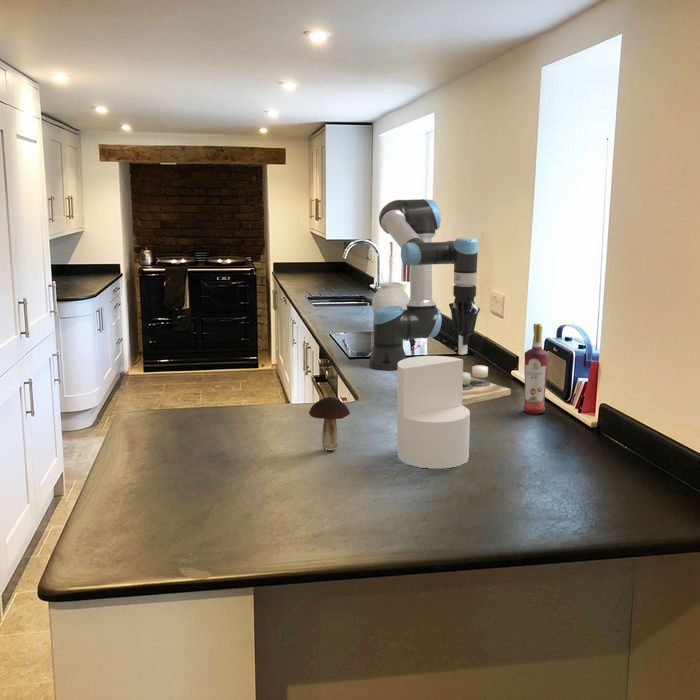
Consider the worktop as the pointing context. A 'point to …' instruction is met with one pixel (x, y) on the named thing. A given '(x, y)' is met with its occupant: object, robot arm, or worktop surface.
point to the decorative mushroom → (329, 418)
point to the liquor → (535, 374)
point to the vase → (390, 296)
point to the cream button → (479, 371)
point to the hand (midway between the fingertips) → (462, 353)
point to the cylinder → (432, 412)
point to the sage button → (466, 378)
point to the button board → (482, 391)
